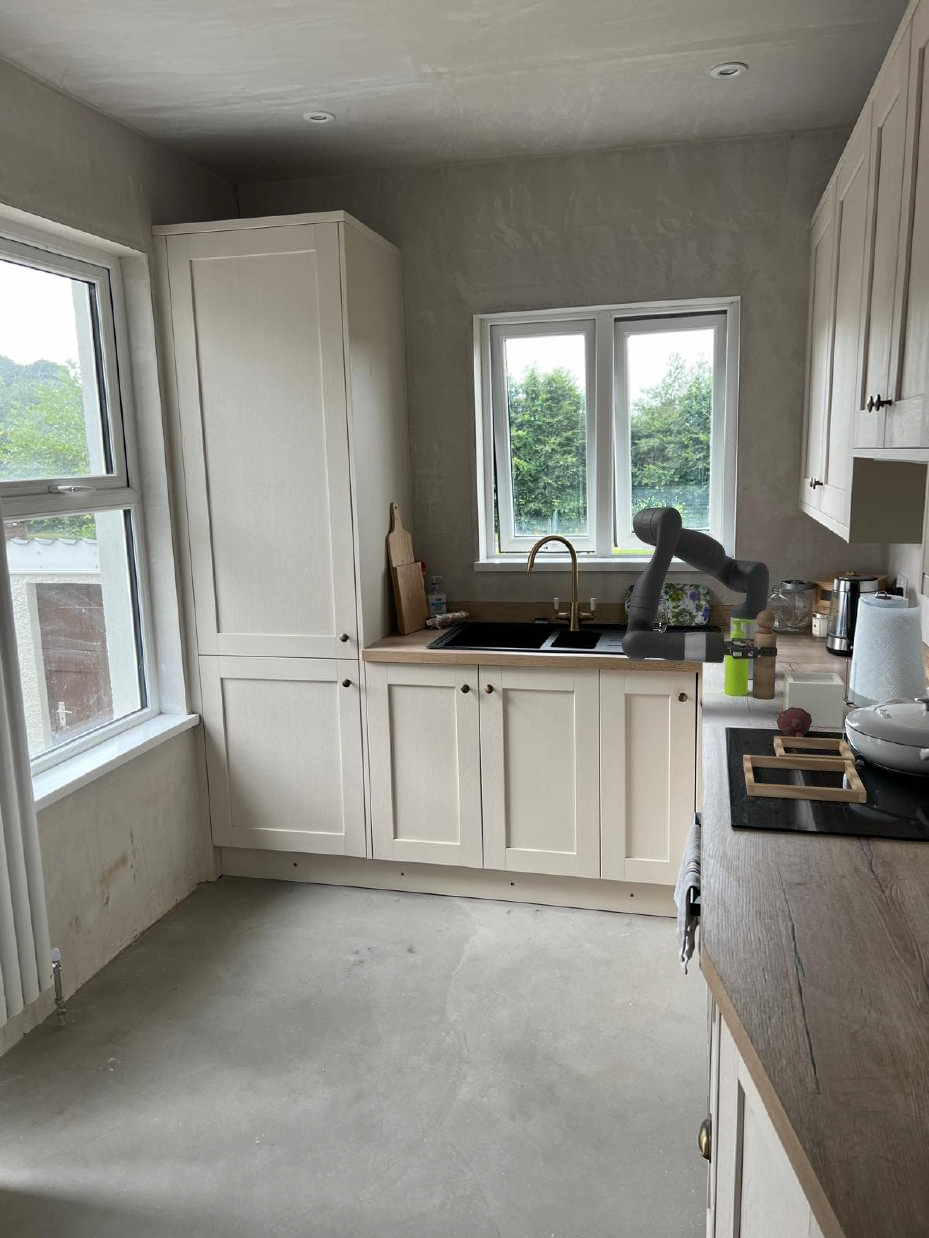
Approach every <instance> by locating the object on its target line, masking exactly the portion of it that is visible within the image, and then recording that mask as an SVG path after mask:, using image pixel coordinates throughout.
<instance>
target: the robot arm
mask: <svg viewBox="0 0 929 1238" xmlns="http://www.w3.org/2000/svg"><path fill="white" fill-rule="evenodd" d="M682 519H683V518H682V515H681V513H680V512H679V510H678V509H677V508H676V507H672V506H659V507H658V506H657V507H646V508H643V509H640V510H639V511H638V512H637V513H636V514H635V515H634V517H633V519H632V528H633V532H634V535H635V536H636V537H637V538H638V540H640V541H641V542H642V543H644V544H646V545H650V546H652V547H654V548H655V550H654V552H653V555H652V557H651V559H650V560H649V563H648V564H647V566H646V567H645V569H644V571H642V573H641V575H640V576H639V577H638V579H637V580H636V582H635V585H634V587H633V590H632V593H631V599H630V602H629V609H628V624H627V628H626V633H625V635H624V636H623V638H622V639H621V645H620V646H621V650H622V651H623V653H624V655H625V656H626V657H627V658H628V659H630V660H632V661H634V662H639V661H643V660H645V659H661V660H665V661H670V662H671V661H672V662H688V663H697V664H698V663H702V664H703V663H705V664H707V663H709V664H723V663H724V662H725V655H729V656H732V657H733V659H748V680H753V659H758V657H760V656H776V657H777V656H778V648H777V646H776V647H760V646H754V632H756V631H759V625H758V624H757V622H756V617H757V615H758V614H759V613H760V612H761V611H765V610H766V611H767V606H768V602H769V601H768V600H769V599H768V597H769V586H770V572H769V568H768V566H767V565H766V563H764V562H761V561H755V560H753V561H752V560H741V559H736V558H732V557H730V556H728V555H727V554H726V550H725V547H724V545H723V544H722V543H720V541H718V540H717V539H715V538H713V537H711V536H710V535H708V534H706V533H704V532H701V531H698V530H694V529H691V528H690V529H689V528H685V527H683V520H682ZM674 557H675V558H677V559H679V560H681V561H682V562H685V563H686V564H688V565H689V566H691V567H692V568H694V569H696V570H698V571H700V572H702V573H704V574H706V575H708V576H711V577H713V578H714V579H716V580H718V581H719V582H720V583H721V584H722V585H724V586H725V587H727V589H729V590H731V591H732V592H735V593H741V594H745V595H746V596H745V600H744V602H742V603H739V604H736V605H734V606H732V607H731V609H730V634H729V636H730V637H729V639H730V640H725V633H723V632H713V631H712V632H709V631H708V632H707V631H704V632H703V631H700V632H698V631H697V632H696V631H695V632H693V631H692V632H658V631H654V629H655V624H656V623H655V622H656V619H657V615H658V609H659V606H660V605H659V604H660V599H661V594H662V591H663V586H664V583H665V581H666V580H665V579H666V576H667V574H668V571H669V568H670V566H671V563H672V561H673V558H674ZM734 619H747V620H751V621H753V622H754V623H753V624H752V623H741V631H742V632H744V638H731V632H732V631H734V623H733V622H732V620H734Z"/></svg>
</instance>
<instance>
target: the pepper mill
mask: <svg viewBox="0 0 929 1238" xmlns="http://www.w3.org/2000/svg"><path fill="white" fill-rule="evenodd" d="M756 622H757V624H758V625H759V631H756V632H754V646H760V647H776V648H777V632H775V631H773V626H774V625H775V623H776V616H775V614H774V612H772V611H770V610H767V609H766V610H765V611H761V612H760V613H759V614H758V615H757V617H756ZM776 659H777V656H760V657H758V659H753V679H752V688H751V689H752V694H751V695H752V698H754V699H757V700H762V701H763V700H765V701H767V700H768V701H769V700H774V699H775V697H776V696H775V695H776V694H775V692H776V691H775V690H776V664H777V663H776V662H777V660H776Z"/></svg>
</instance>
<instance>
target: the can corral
mask: <svg viewBox="0 0 929 1238" xmlns="http://www.w3.org/2000/svg"><path fill="white" fill-rule="evenodd" d="M773 747H774V752H775V754H776V756H775V757H794V758H812V759H831V760H849V761H851V762H852V764H853V766H854V768H855V766H856V758H855V756H854V754H853V753H852V750H851V748H850V747H849V745H848V743H847V741H846V739H842V738H841V739H840V738H826V737H825V738H824V737H823V738H821V737H806V736H804V737H789V736H783V735H774V736H773ZM784 748H796V749H798V748H799V749H818V750H836V751H839V752H840V755H841V756H840V755H839V756H837V755H823V754H822V755H820V754H802V753H801V754H800V753H786V752H785V750H784Z"/></svg>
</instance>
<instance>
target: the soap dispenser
mask: <svg viewBox="0 0 929 1238" xmlns="http://www.w3.org/2000/svg"><path fill="white" fill-rule="evenodd" d="M732 622H733V623H734V631H732V632H731V631H730V632H731V638H744V632H742V631H741V623H752V624H753V623H754V622H753V621H751V620H747V619H734V620H732ZM724 662H725V663H724V692H723V693H724V694H725V695H727V696H733V697H744V696H747V695H748V686H749V685H748V683H749V679H748V659H733V657H732V656H729V655H724Z"/></svg>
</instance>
